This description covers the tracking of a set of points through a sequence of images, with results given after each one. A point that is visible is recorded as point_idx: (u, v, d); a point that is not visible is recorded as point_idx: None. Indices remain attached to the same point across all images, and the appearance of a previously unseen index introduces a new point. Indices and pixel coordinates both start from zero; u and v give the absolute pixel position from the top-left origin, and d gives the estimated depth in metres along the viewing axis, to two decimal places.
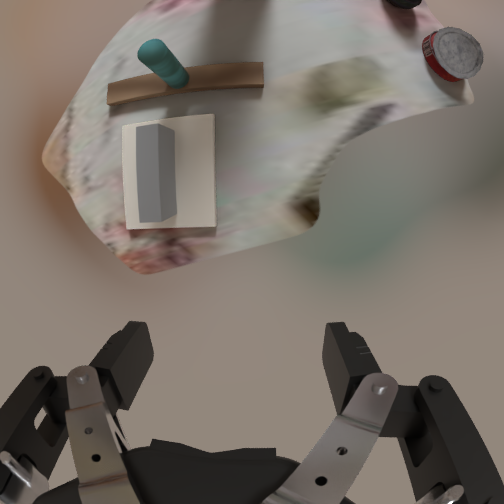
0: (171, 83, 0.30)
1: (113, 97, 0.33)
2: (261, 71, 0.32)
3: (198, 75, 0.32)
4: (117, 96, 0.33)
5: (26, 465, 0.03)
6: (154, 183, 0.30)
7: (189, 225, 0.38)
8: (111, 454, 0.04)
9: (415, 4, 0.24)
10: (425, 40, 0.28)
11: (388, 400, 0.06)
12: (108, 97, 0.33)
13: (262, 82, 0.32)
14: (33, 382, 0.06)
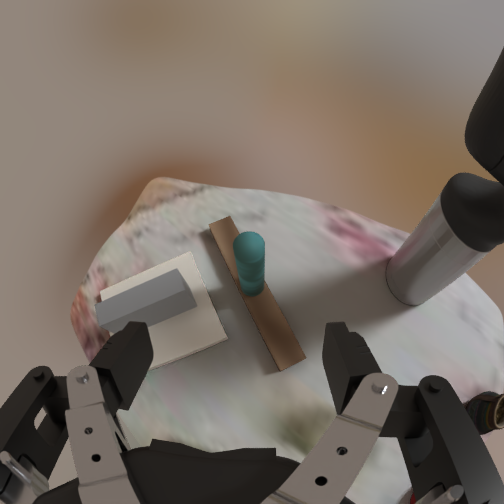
0: (239, 281, 0.35)
1: (216, 228, 0.42)
2: (294, 361, 0.32)
3: (263, 303, 0.36)
4: (218, 232, 0.41)
5: (26, 465, 0.03)
6: (128, 308, 0.30)
7: None
8: (111, 454, 0.04)
9: None
10: None
11: (388, 400, 0.06)
12: (215, 223, 0.42)
13: (281, 368, 0.32)
14: (33, 382, 0.06)
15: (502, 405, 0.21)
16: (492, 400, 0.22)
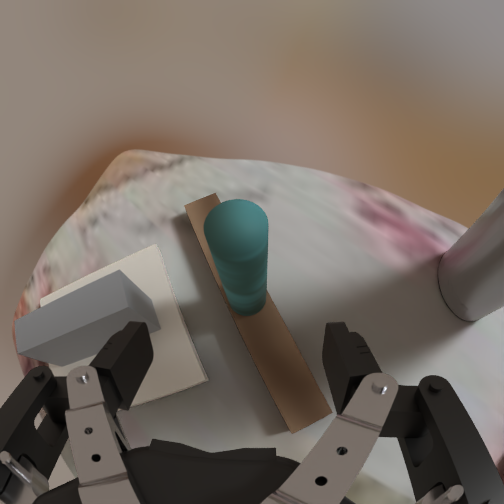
0: None
1: (195, 210, 0.28)
2: (313, 419, 0.18)
3: (264, 327, 0.22)
4: (197, 215, 0.27)
5: (26, 465, 0.03)
6: (50, 331, 0.15)
7: None
8: (111, 454, 0.04)
9: None
10: None
11: (388, 400, 0.06)
12: (194, 203, 0.28)
13: (293, 431, 0.18)
14: (33, 382, 0.06)
15: None
16: None
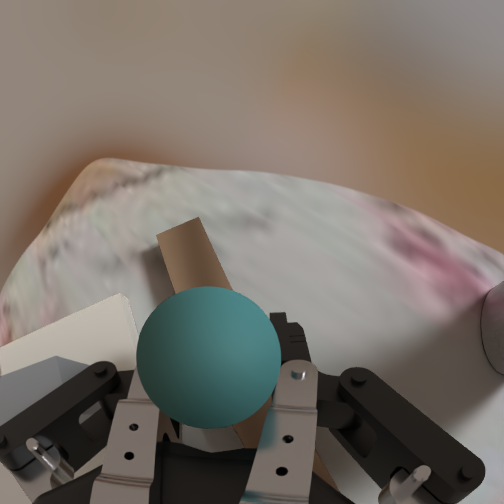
0: None
1: (170, 243, 0.20)
2: None
3: None
4: (173, 251, 0.19)
5: (54, 456, 0.04)
6: None
7: None
8: (146, 458, 0.04)
9: None
10: None
11: (302, 386, 0.07)
12: (170, 232, 0.20)
13: None
14: (91, 377, 0.07)
15: None
16: None
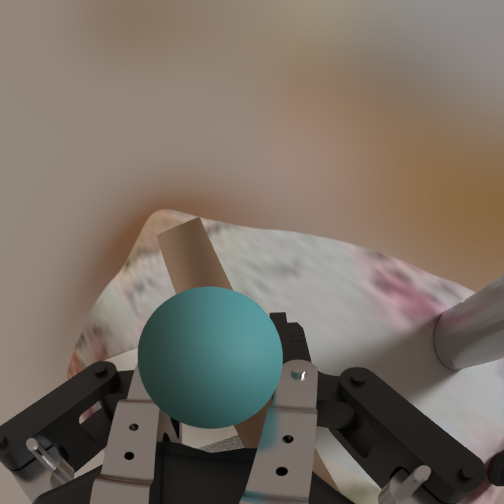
0: None
1: (171, 243, 0.20)
2: None
3: None
4: (173, 251, 0.19)
5: (54, 456, 0.04)
6: None
7: None
8: (146, 457, 0.04)
9: None
10: None
11: (302, 386, 0.07)
12: (170, 232, 0.20)
13: None
14: (92, 377, 0.07)
15: None
16: None
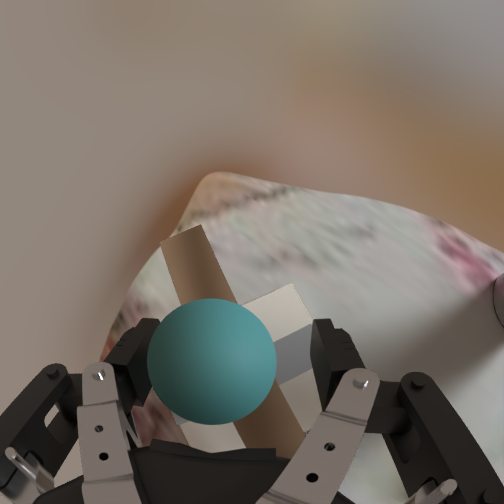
0: None
1: (173, 250, 0.20)
2: None
3: (266, 418, 0.14)
4: (176, 257, 0.20)
5: (32, 462, 0.04)
6: None
7: (188, 438, 0.21)
8: (119, 454, 0.04)
9: None
10: None
11: (368, 395, 0.06)
12: (173, 239, 0.21)
13: None
14: (46, 380, 0.06)
15: None
16: None
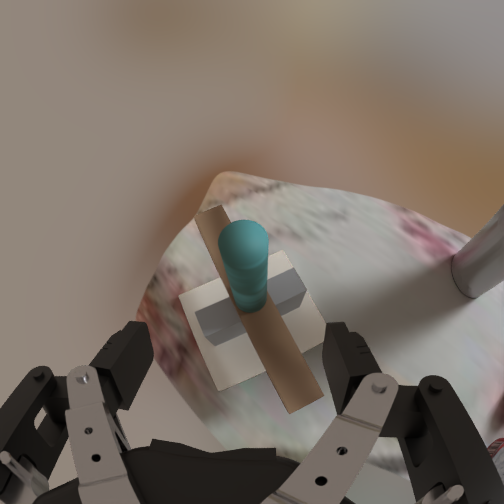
0: (232, 293, 0.24)
1: (203, 220, 0.32)
2: (308, 401, 0.22)
3: (265, 322, 0.26)
4: (205, 225, 0.31)
5: (26, 465, 0.03)
6: None
7: (208, 363, 0.32)
8: (111, 454, 0.04)
9: None
10: (499, 440, 0.21)
11: (388, 400, 0.06)
12: (202, 214, 0.32)
13: (291, 411, 0.22)
14: (33, 382, 0.06)
15: None
16: None
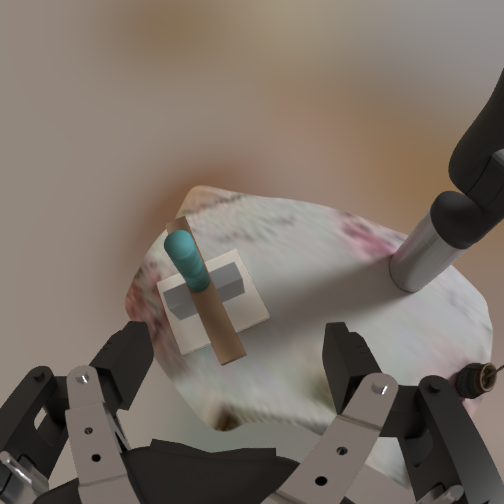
0: None
1: (171, 227, 0.43)
2: (233, 356, 0.33)
3: (207, 298, 0.37)
4: (172, 231, 0.43)
5: (26, 465, 0.03)
6: None
7: (174, 333, 0.43)
8: (111, 454, 0.04)
9: (468, 396, 0.32)
10: None
11: (388, 400, 0.06)
12: (171, 222, 0.44)
13: (221, 362, 0.33)
14: (33, 382, 0.06)
15: (487, 374, 0.31)
16: (478, 368, 0.32)
